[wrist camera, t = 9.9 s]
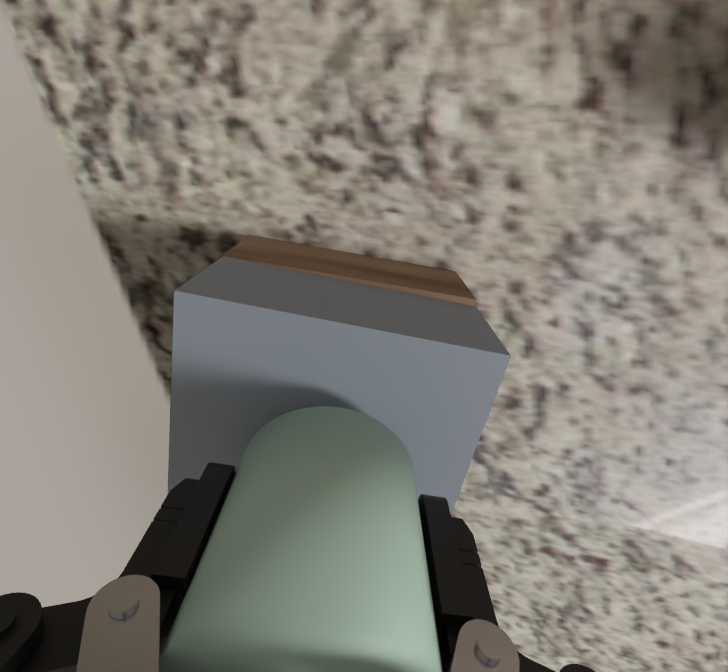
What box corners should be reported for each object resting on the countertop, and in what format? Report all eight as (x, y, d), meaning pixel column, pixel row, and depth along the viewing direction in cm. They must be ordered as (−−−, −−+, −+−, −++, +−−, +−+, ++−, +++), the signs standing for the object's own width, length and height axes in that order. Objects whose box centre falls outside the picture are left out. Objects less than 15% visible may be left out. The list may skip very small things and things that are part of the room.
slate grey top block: (223, 255, 16) (174, 290, 12) (475, 306, 17) (510, 355, 13) (207, 462, 20) (166, 542, 16) (414, 497, 21) (425, 582, 17)
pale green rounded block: (246, 392, 12) (149, 587, 7) (432, 421, 13) (483, 630, 7) (235, 531, 14) (153, 764, 9) (394, 553, 15) (410, 790, 9)
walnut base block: (251, 234, 20) (221, 255, 16) (455, 270, 21) (476, 299, 17) (238, 409, 24) (212, 462, 20) (410, 436, 25) (419, 492, 21)
